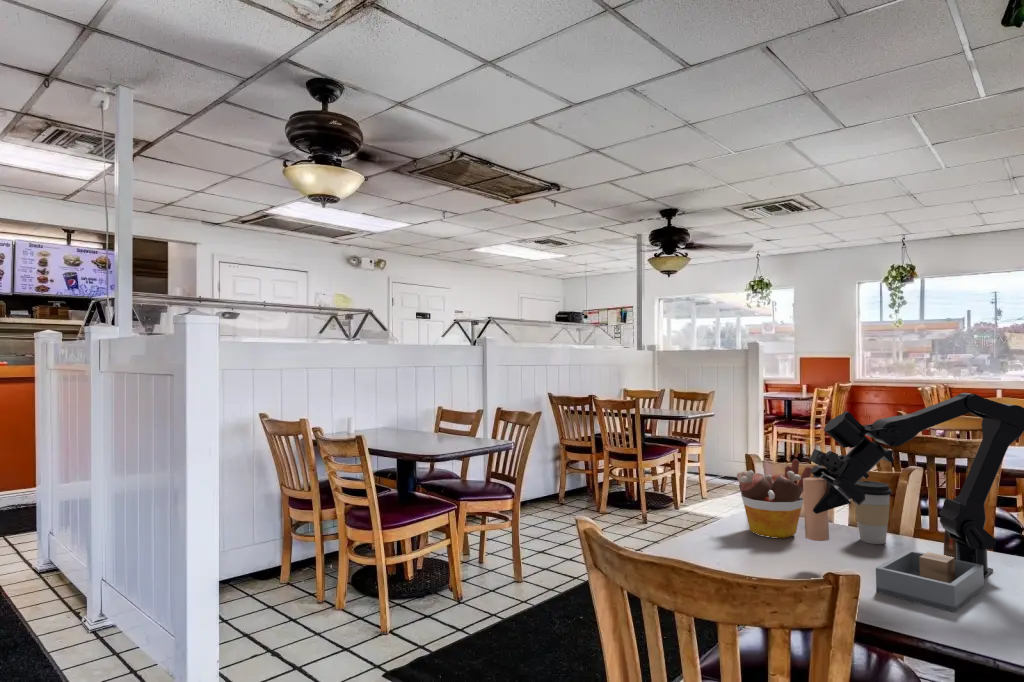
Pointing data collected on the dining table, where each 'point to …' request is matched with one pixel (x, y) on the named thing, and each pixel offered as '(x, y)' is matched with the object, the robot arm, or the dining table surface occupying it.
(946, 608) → the tote
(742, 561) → the dining table surface
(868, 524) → the coffee cup
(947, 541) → the tin
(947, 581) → the cube
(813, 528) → the cylinder
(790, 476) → the bucket of meat
